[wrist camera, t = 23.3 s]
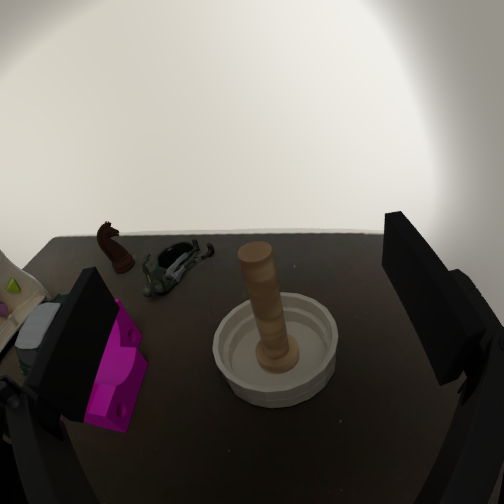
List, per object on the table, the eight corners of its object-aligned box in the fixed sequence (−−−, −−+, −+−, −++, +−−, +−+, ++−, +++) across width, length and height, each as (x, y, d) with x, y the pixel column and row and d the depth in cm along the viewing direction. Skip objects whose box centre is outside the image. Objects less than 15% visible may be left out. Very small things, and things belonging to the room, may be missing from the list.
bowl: (308, 304, 39) (306, 279, 37) (356, 380, 29) (360, 358, 26) (214, 337, 38) (203, 314, 35) (240, 426, 27) (229, 409, 24)
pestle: (290, 334, 35) (272, 228, 26) (306, 364, 31) (293, 257, 22) (252, 348, 34) (220, 245, 26) (265, 380, 30) (233, 277, 22)
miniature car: (103, 306, 47) (81, 271, 42) (67, 395, 32) (32, 361, 27) (68, 309, 48) (46, 277, 43) (30, 388, 33) (-2, 356, 28)
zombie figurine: (206, 221, 49) (141, 279, 40) (216, 254, 53) (159, 312, 44) (183, 217, 52) (121, 270, 42) (194, 248, 56) (138, 301, 46)
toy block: (126, 433, 27) (89, 403, 23) (87, 423, 28) (50, 393, 24) (157, 336, 39) (134, 298, 35) (121, 335, 40) (97, 299, 36)
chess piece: (139, 261, 56) (119, 217, 50) (121, 277, 53) (99, 233, 47) (125, 257, 58) (106, 216, 53) (109, 272, 55) (87, 231, 49)
